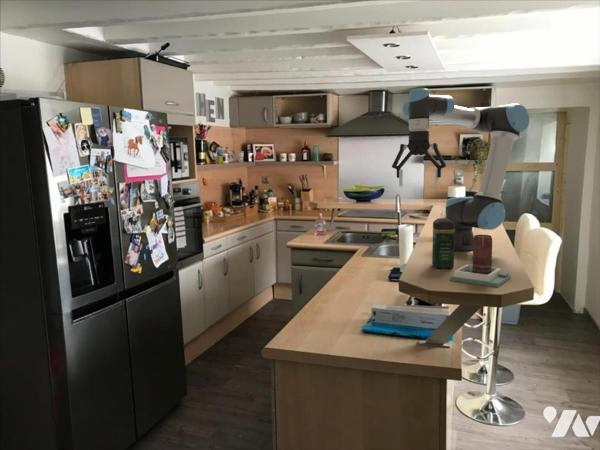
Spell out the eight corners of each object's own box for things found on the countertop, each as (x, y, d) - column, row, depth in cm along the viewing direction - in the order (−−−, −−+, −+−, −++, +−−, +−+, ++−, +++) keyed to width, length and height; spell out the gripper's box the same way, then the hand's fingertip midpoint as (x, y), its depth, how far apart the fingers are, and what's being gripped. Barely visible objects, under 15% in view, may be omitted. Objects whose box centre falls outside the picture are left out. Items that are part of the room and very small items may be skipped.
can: (474, 277, 167) (475, 237, 165) (471, 273, 173) (472, 234, 171) (492, 278, 166) (494, 237, 164) (489, 273, 172) (490, 234, 170)
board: (464, 271, 180) (465, 263, 180) (510, 277, 170) (510, 268, 170) (450, 280, 169) (450, 271, 169) (497, 287, 159) (498, 277, 159)
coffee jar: (455, 269, 184) (456, 220, 181) (434, 269, 185) (434, 220, 182) (451, 263, 194) (452, 217, 191) (430, 263, 195) (431, 217, 192)
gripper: (384, 131, 189) (384, 186, 192) (451, 128, 179) (450, 187, 182) (388, 132, 195) (388, 185, 199) (454, 129, 185) (453, 185, 189)
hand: (418, 186), depth 190 cm, fingers open, 13 cm apart
